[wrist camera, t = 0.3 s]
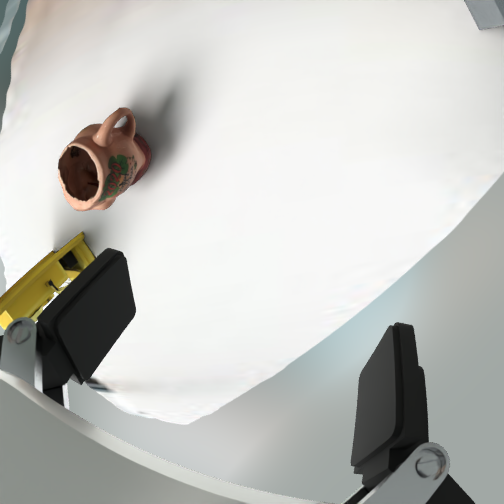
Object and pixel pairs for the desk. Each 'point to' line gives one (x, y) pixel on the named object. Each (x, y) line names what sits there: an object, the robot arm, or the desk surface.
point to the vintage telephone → (44, 281)
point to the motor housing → (487, 12)
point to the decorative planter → (103, 163)
